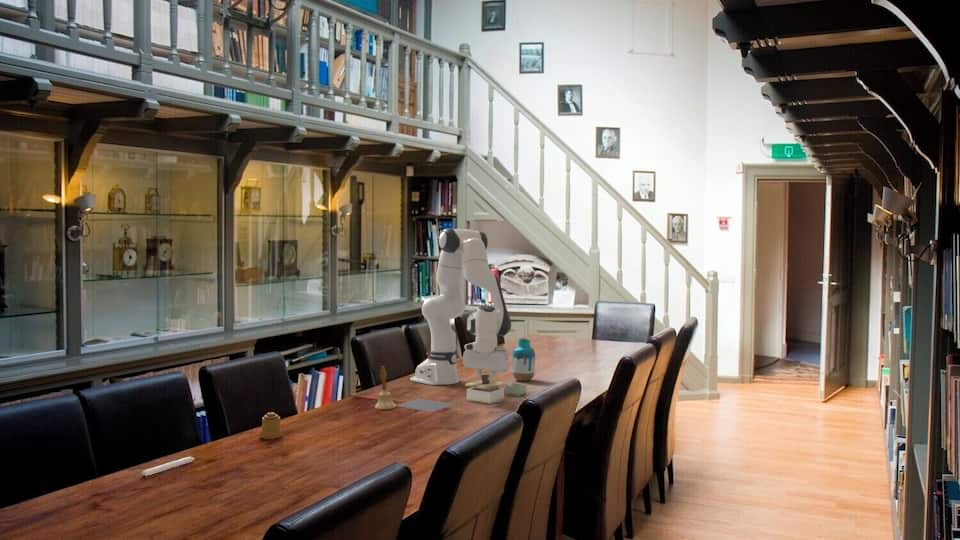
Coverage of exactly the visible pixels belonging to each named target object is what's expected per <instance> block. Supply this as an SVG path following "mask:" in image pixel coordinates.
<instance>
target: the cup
mask: <svg viewBox="0 0 960 540" xmlns="http://www.w3.org/2000/svg"><path fill="white" fill-rule="evenodd" d="M526 385H527V384H524V383H516V382H513V383H509V384H507V385H505V386H506V387H505V390H506V391H505V395H506V396H511V397H522V396H524V395H526V394H527V393H526V392H527V391H526V389H527V388H526Z"/></svg>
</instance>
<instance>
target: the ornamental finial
mask: <svg viewBox="0 0 960 540" xmlns="http://www.w3.org/2000/svg"><path fill="white" fill-rule="evenodd" d="M261 418H262V419H261V430H260V431H259V438H261V439H262V438H266V439H265V440H274V439H273V438H278V439H280V438H282V436H283V434H284V431H283V430H282V428H281V417H280V416H279V414H276V412H273V411H271V412H267V413H266V414H264V416H263V417H261ZM279 437H280V438H279Z"/></svg>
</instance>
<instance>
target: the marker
mask: <svg viewBox="0 0 960 540" xmlns="http://www.w3.org/2000/svg"><path fill="white" fill-rule="evenodd" d="M193 460H194V461H195V458H194V457H193V456H187V457H183V458H180V459H178V460H174V461H172V460H171V461H169V462H167V463H162V464H161V465H157V466H154V467H151V468H147V469H144V470H142V471H141V472H140V475H141V474H143V475H146V476H147V475H152V474H155V473H158V472H161V471H164V470H167V469H170V468H172V467H176V466H179V465H182V464H186V463H189V462H192V461H193ZM194 461H193V462H194ZM193 462H192V463H193ZM155 475H156V474H155ZM152 476H153V475H152Z"/></svg>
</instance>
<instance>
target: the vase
mask: <svg viewBox="0 0 960 540" xmlns="http://www.w3.org/2000/svg"><path fill="white" fill-rule="evenodd" d="M511 354H512V355H511V356H512V357H511V371H512V372H511V373H512V376H513V378H514V379H515V380H517V381H520V382H528V381H531V380H532V379H533V378H534V377H535V372H536V371H535V370H536V352H535V349H534V348H533V347H531V339H529V338H518V339H517V345H516V347H514V348H513V350H512V353H511Z"/></svg>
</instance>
